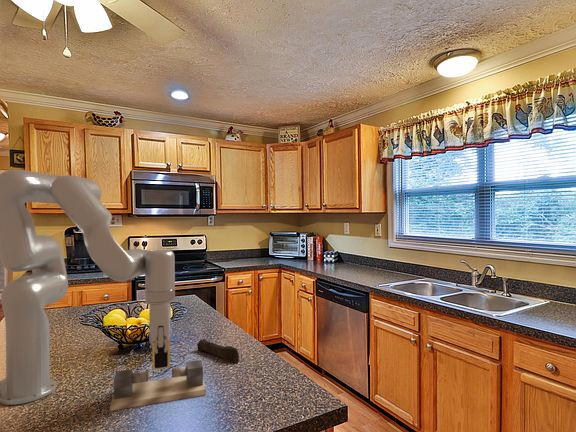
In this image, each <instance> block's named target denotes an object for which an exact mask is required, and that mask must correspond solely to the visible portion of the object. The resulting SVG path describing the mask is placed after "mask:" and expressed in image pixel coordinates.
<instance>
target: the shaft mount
mask: <svg viewBox="0 0 576 432" xmlns="http://www.w3.org/2000/svg"><path fill="white" fill-rule="evenodd" d="M133 372H134V369H133V368H131V369H125V370H118V371H115V374H114V378H113V394H112V398H111V401H110V406H109V407H110V412H111V411H112V412H113V411H118V410H123V409H124V410H125V409H129V408H137V407H142V406H147V405H154V404H160V403H165V402H172V401H177V400H182V399H189V398H195V397H202V396H206V395H207V388H206V384H205V380H204V365H203V362H202V359H198V360H192V361H186V366H179V367H173V368H171V377H170V378H163V379H162V378H161V379H155V380H149V371H143V372H136V373H133Z"/></svg>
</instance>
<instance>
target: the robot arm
mask: <svg viewBox="0 0 576 432" xmlns="http://www.w3.org/2000/svg"><path fill="white" fill-rule="evenodd" d="M101 198H102V190H101V188H100V186H99V185H98V183H97V182H95V181H94V180H92V179H90V178H87V177H82V176H77V175H70V174H69V175H67V174H66V175H55V174H50V173H45V172H37V171H32V170H28V169H27V170H26V169H9V170H5V171H3V172H0V262H1V264H2V266H3V267H4V268H5V270H7V271H9V272H12V273H13V272H15V273H19V272H21V273H22V272H27V271H31V273H32V274H28V275H24V276H20V277H18V278H15V279H13V280H12V281H10V282H9V283H7V284H6V285H5V287H4V288H3V289H2V291H1V294H0V295H1V296H0V302H1V307H2V311H3V314H4V321H5V323H4V324H5V325H4V326H5V378H3V379H2V380H0V404H2V405H5V406H9V405H11V406H13V405H16V406H17V405H21V404H27V403H30V402H34V401H37V400H38V401H39V400H40V399H42V398H45V397H47V396H49V395H50V394H51V393H53V392H54V391H55V390H56V389H57V381H56V380H55V379H52V378H51V376H50V375H51V373H50V371H51V369H50V367H51V365H50V364H51V361H50V360H51V359H50V357H51V349H50V348H51V346H50V345H51V343H50V340H51V339H50V338H51V331H50V319H49V317H48V315H47V313H46V310H45V307H46V306H49V305H52V304H55V303H57V302H59V301H61V300H62V299H63V298H65V296H66V295H67V293H68V289H69V277H68V273H67V268H66V262H65V258H64V253H63V250H62V246H61V245H60V244H59V242H58V240H56V239H55V238H54V237H52V236H50V235H46V234H37V230H36V226H35V221H34V217H33V216H32V213H31V212H30V210H29V209H28V208H27V206H26V205H25V204H26V203H34V204H35V203H38V204H39V203H40V204H52V205H58V206H59V208H60V209H61V210H62V211H63V212H64V213H65V215H67V217H68V218H69V219H70V220H71V221H72V222H73V224H74V225H75V226H76V227H77V228H78V230H79V231H80V232H81V233H82V235H83V242H84V246H85V248H86V251H87V254H88V256H90V259H91V260H92V261H93V262H94V263H95V264H96V266H98V268H99V269H100V270H101V271H102V272H103V274H105V276H107V277H108V278H109V279H111V280H113V281H115V282H119V283H120V282H127V281H129V280H131V279H135V278H137V277H141V276H144V277H145V278H144V280H145V281H144V283H145V290H144V291H145V304H146V305H149V308H148V309H149V313H148V314H149V315H148V316H149V317H148V318H149V321H148V325H149V328H148V329H149V330H148V331H149V342H148V343H151V344H152V342H154V341H155V368H163V367H167V366H168V352H167V350H166V342H167V341H168V340H169V337H170V333H171V313H172V312H171V311H172V310H171V303H173V302H175V301H176V283H175V282H176V274H175V273H176V272H175V271H176V270H175V267H176V266H175V258H176V257H175V253H174V252H173V251H172V250H171V249H170V250H169V249H155V250H154V249H153V250H150V249H149V250H147V249H141V248H140V249H139V248H133V249H127V250H124V248H123V247H122V246H121V245H120V243H119V242H117V241H116V239H115V238H114V236H113V235H112V232H111V229H110V228H111V227H110V224H111V223H112V220H113V215H112V213H111V212H110V211H109V210H108V209H107V207H106V206H105V205H104V204H103V203H102V202H101ZM163 338H165V340H163ZM157 339H158V341H157ZM163 343H164V344H163Z"/></svg>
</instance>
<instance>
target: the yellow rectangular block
mask: <svg viewBox="0 0 576 432" xmlns="http://www.w3.org/2000/svg"><path fill="white" fill-rule="evenodd" d="M170 339H171V338H170V336H169V340H168V341H167V342H166V350H167V352H168V366H167V367H163V368H155V341H154V342H152V343H151V344H152V345H151V346H152V347H151V349H152V350H151V352H152V354H151V355H152V356H151V357H152V358H151V359H152V363H151V364H152V370H151V371H156V370H157V371H158V370H162V369H168V368H169V369H171V340H170ZM163 340H165V338H163ZM157 341H158V339H157ZM163 344H164V343H163Z"/></svg>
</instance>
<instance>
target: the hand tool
mask: <svg viewBox="0 0 576 432" xmlns="http://www.w3.org/2000/svg"><path fill="white" fill-rule="evenodd" d="M196 344H197V345H196V346H197V350H198V351H199V352H200V351H201V352H204V353H205V352H206V353H208V354H211V355H214V356H217V357H220V358H222V359H223V360H224V361H226V362H230V363H239V362H240V354H239V350H238V349H237V348H236V347H234V346H231V345H225V346H222V345H219V344H216V343H214V342H211V341H207V339H200V340H199V341H198V342H197V343H196Z"/></svg>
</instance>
